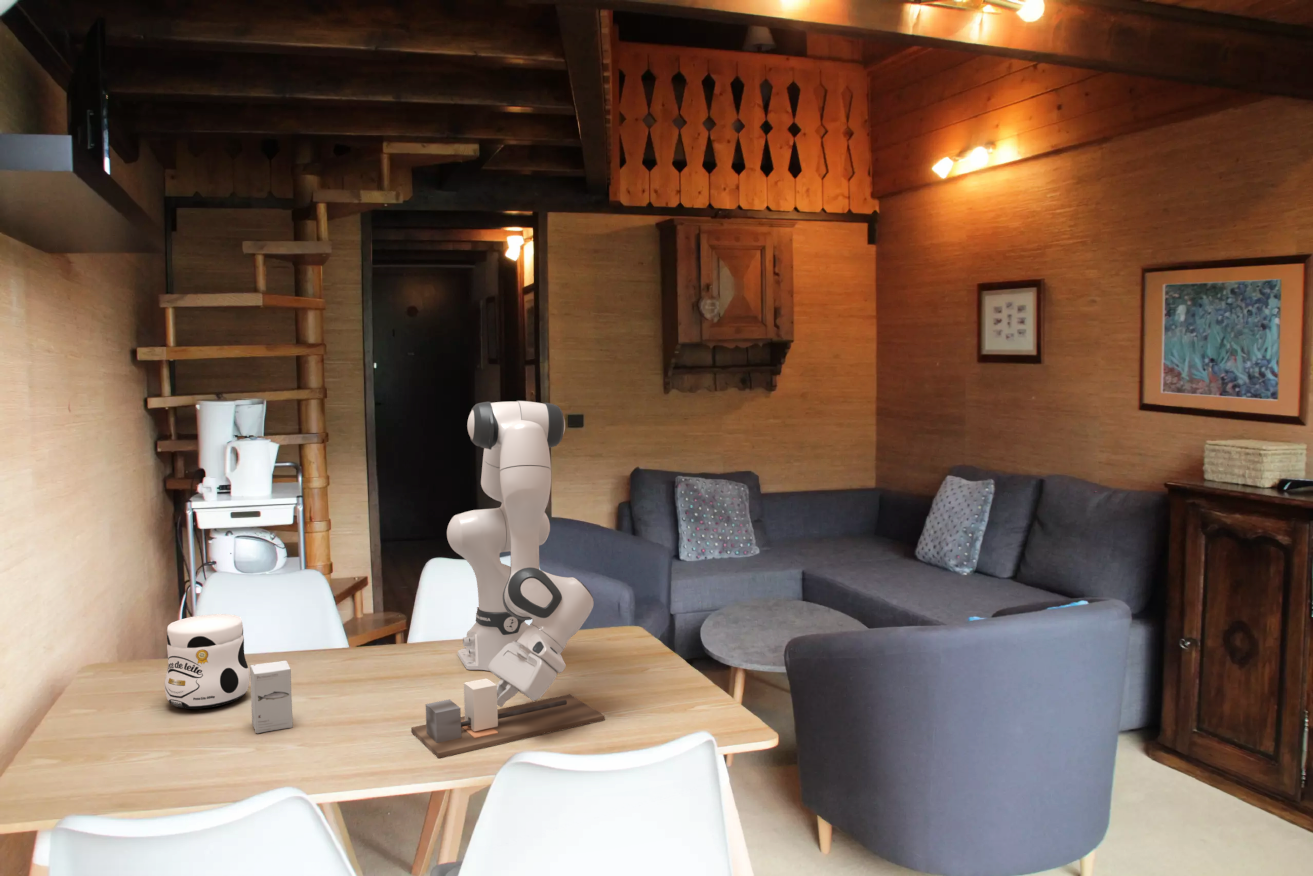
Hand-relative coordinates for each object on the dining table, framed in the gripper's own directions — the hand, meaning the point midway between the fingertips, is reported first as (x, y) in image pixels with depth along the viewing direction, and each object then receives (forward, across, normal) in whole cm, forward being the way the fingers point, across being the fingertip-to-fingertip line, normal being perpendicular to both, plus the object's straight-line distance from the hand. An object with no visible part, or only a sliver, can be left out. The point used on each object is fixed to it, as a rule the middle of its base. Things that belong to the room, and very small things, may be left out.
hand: (495, 703), depth 201 cm
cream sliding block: (+5, 0, +1) cm, 5 cm away
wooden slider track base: (+2, 0, +6) cm, 6 cm away
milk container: (+37, -52, -29) cm, 70 cm away
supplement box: (+31, -28, -23) cm, 48 cm away
